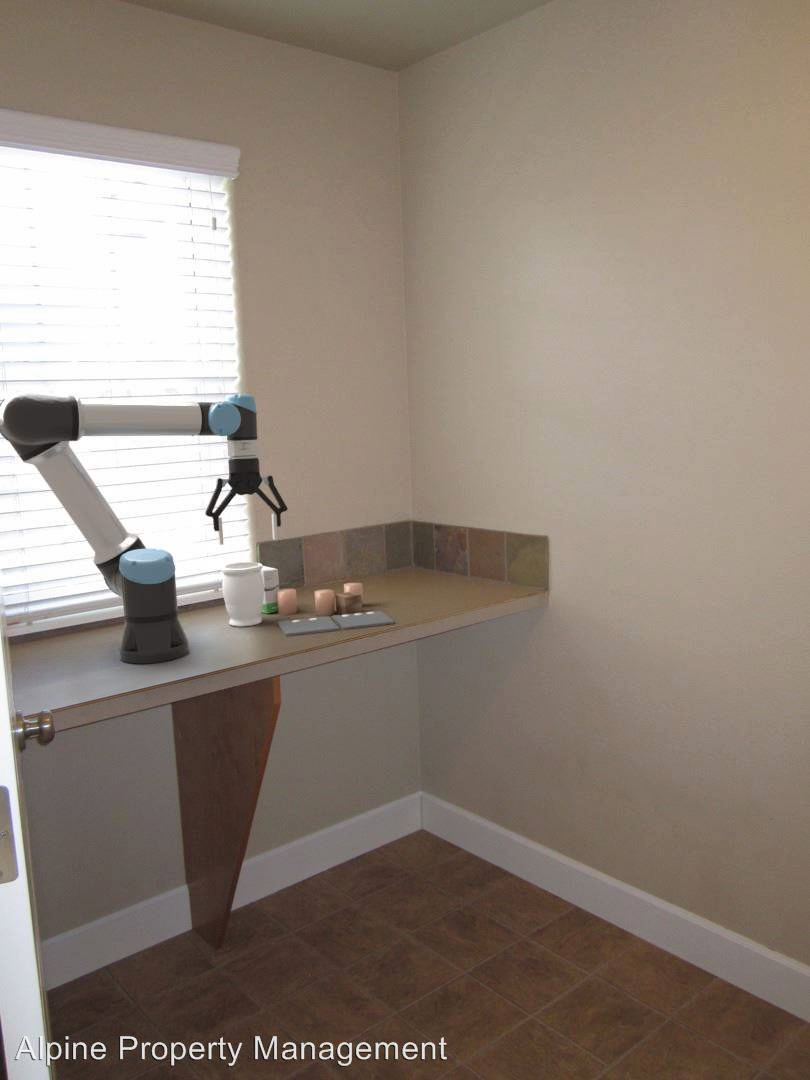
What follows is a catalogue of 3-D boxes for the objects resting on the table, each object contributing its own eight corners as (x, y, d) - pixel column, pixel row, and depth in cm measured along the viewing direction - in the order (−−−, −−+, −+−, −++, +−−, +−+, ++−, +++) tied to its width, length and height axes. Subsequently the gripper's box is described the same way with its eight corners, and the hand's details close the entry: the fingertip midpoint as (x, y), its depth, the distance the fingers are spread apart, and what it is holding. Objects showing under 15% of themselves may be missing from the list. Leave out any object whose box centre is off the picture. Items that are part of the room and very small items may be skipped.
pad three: (343, 629, 216) (343, 626, 216) (332, 618, 229) (331, 615, 228) (394, 623, 220) (394, 620, 220) (380, 612, 232) (380, 609, 232)
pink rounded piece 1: (317, 616, 231) (316, 594, 230) (314, 612, 236) (312, 590, 235) (336, 614, 232) (335, 592, 232) (332, 610, 237) (331, 588, 236)
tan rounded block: (279, 615, 234) (278, 593, 233) (277, 611, 239) (275, 589, 238) (298, 613, 236) (297, 591, 235) (295, 609, 240) (294, 587, 239)
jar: (257, 628, 221) (253, 569, 219) (218, 628, 223) (214, 569, 221) (272, 618, 231) (268, 561, 229) (234, 617, 233) (230, 561, 231)
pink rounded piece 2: (347, 608, 238) (346, 586, 237) (342, 605, 243) (341, 583, 242) (365, 607, 240) (364, 585, 239) (360, 603, 244) (359, 582, 244)
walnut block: (345, 616, 231) (344, 597, 230) (336, 612, 235) (335, 594, 234) (362, 613, 233) (361, 594, 232) (352, 610, 237) (352, 591, 237)
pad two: (286, 636, 212) (286, 632, 212) (277, 624, 225) (277, 621, 224) (339, 630, 216) (339, 626, 216) (328, 618, 228) (328, 615, 228)
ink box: (282, 611, 239) (279, 568, 237) (266, 614, 236) (263, 571, 234) (265, 606, 246) (262, 564, 244) (249, 609, 242) (247, 567, 241)
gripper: (193, 460, 213) (199, 547, 216) (296, 455, 221) (300, 539, 224) (190, 459, 220) (196, 543, 223) (290, 454, 228) (294, 536, 231)
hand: (248, 541), depth 223 cm, fingers open, 13 cm apart
